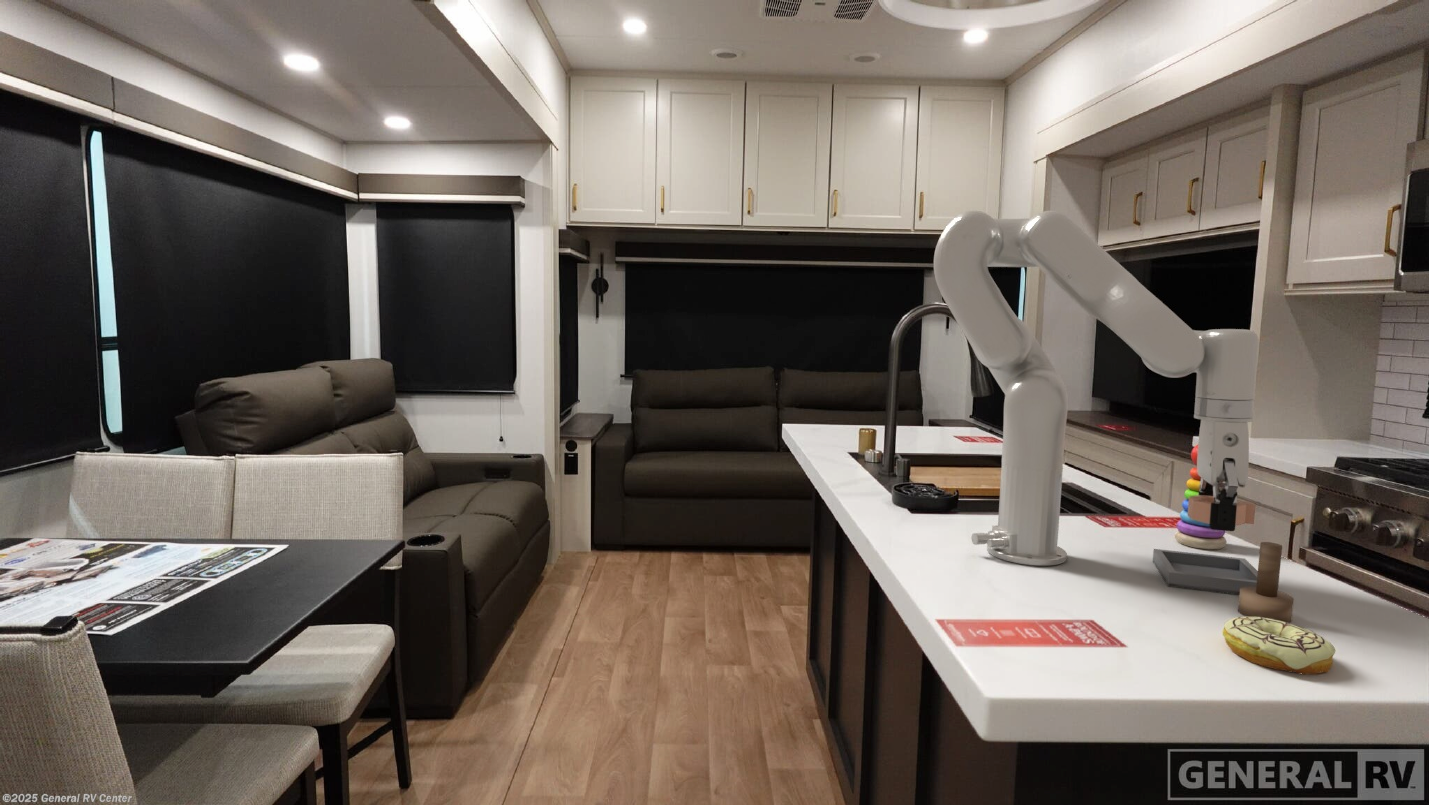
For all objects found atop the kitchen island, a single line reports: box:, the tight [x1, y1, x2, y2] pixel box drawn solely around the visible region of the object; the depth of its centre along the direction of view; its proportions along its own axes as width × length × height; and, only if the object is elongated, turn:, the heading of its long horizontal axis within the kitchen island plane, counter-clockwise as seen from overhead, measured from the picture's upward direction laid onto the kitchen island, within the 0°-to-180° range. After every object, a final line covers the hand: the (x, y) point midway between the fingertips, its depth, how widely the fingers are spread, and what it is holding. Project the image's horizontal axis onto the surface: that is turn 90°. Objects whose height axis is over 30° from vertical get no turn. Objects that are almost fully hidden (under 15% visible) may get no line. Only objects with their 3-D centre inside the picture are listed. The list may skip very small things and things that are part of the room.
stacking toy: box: [1174, 444, 1227, 550], centre depth 138 cm, size 8×8×19 cm
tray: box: [1152, 548, 1258, 596], centre depth 120 cm, size 13×13×2 cm
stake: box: [1237, 541, 1295, 624], centre depth 105 cm, size 6×6×10 cm
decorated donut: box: [1222, 615, 1336, 675], centre depth 92 cm, size 10×11×4 cm
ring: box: [1188, 495, 1256, 527], centre depth 118 cm, size 7×8×3 cm
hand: (1215, 522), depth 119 cm, fingers closed on ring, 7 cm apart
